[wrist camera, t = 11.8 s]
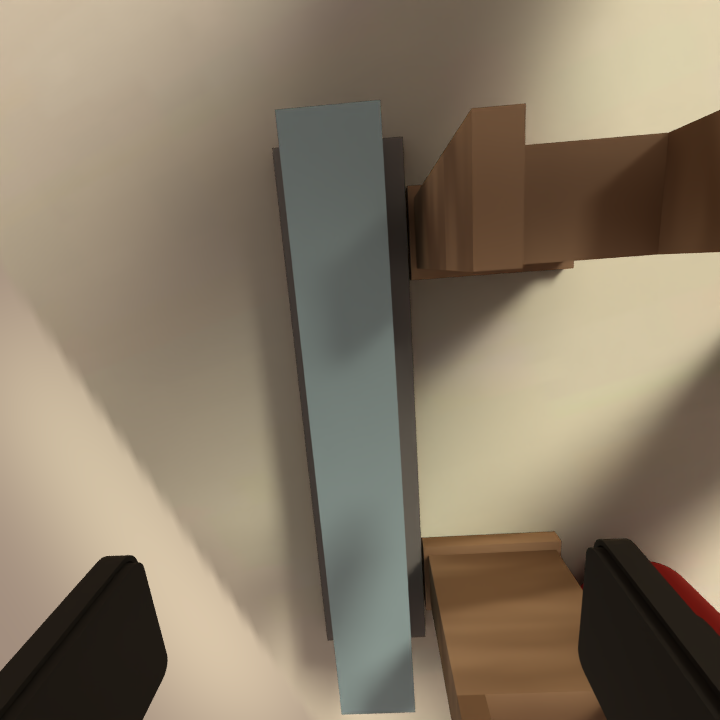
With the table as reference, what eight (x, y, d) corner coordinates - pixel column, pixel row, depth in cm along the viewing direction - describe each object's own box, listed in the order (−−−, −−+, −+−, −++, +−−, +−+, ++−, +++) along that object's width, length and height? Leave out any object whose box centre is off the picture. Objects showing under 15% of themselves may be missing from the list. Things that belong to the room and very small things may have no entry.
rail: (296, 144, 17) (275, 109, 13) (377, 137, 17) (380, 99, 13) (346, 639, 23) (341, 714, 19) (407, 636, 23) (415, 712, 19)
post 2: (421, 537, 22) (469, 790, 12) (554, 531, 22) (730, 784, 11) (424, 598, 23) (471, 885, 12) (551, 593, 23) (712, 882, 12)
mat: (275, 152, 18) (272, 148, 17) (401, 140, 18) (402, 136, 17) (328, 631, 24) (327, 640, 23) (424, 627, 24) (425, 636, 23)
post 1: (405, 189, 18) (457, 79, 7) (568, 175, 18) (866, 41, 7) (410, 279, 19) (461, 297, 8) (564, 268, 19) (823, 271, 8)
